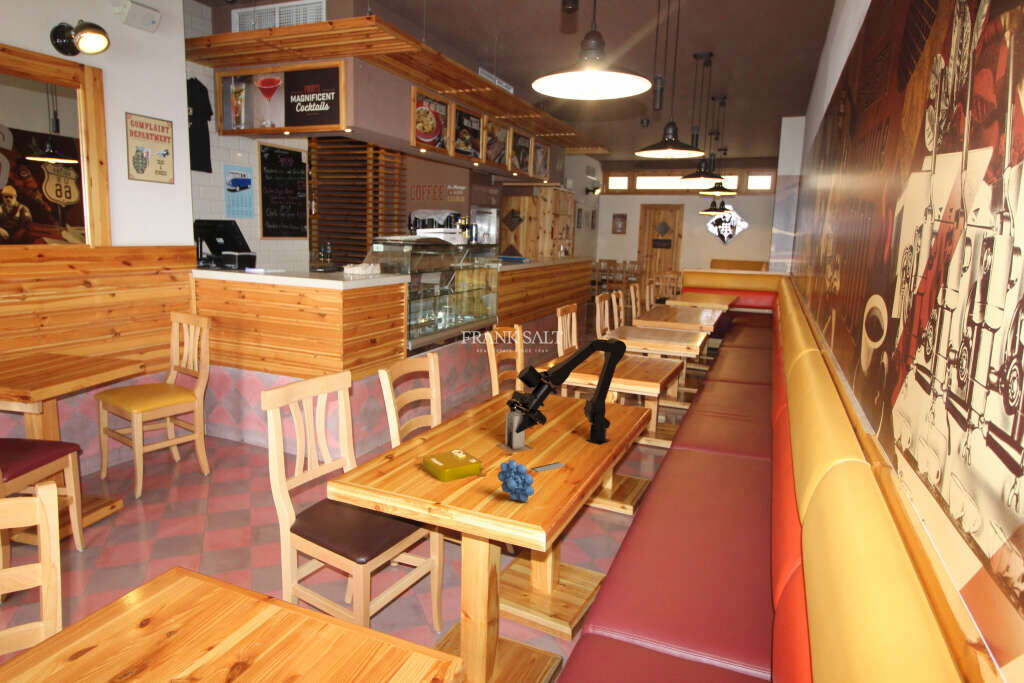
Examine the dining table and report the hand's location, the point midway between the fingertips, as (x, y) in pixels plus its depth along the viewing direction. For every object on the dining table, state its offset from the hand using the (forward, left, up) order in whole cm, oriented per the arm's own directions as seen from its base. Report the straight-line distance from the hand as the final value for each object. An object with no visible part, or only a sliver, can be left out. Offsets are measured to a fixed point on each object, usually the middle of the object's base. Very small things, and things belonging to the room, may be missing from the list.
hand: (511, 430), depth 216 cm
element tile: (+28, -1, -8) cm, 29 cm away
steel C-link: (-1, 0, -6) cm, 6 cm away
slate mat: (+3, +16, -7) cm, 18 cm away
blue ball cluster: (+32, +29, -7) cm, 44 cm away
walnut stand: (-1, 0, -7) cm, 7 cm away
